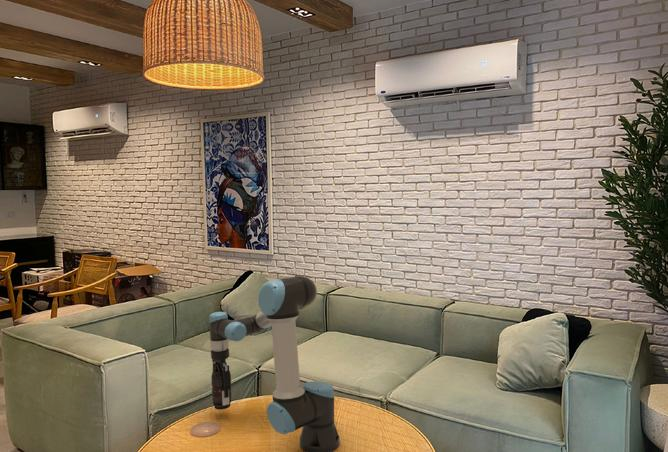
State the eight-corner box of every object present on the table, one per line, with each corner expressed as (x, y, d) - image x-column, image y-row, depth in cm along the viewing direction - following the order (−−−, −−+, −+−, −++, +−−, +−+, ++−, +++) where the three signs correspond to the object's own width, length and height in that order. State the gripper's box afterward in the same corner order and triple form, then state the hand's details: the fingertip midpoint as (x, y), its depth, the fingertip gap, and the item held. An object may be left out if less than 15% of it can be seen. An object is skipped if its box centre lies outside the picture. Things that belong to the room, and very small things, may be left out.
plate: (225, 431, 200) (225, 429, 200) (195, 440, 194) (195, 438, 194) (214, 420, 210) (214, 418, 210) (186, 428, 204) (186, 426, 204)
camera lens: (229, 410, 209) (228, 375, 208) (210, 410, 209) (208, 375, 209) (234, 402, 217) (232, 368, 216) (215, 402, 217) (214, 369, 217)
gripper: (237, 352, 205) (240, 407, 207) (219, 341, 223) (222, 391, 224) (220, 356, 201) (222, 411, 202) (203, 345, 219) (205, 395, 220)
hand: (222, 401), depth 213 cm, fingers closed on camera lens, 8 cm apart
